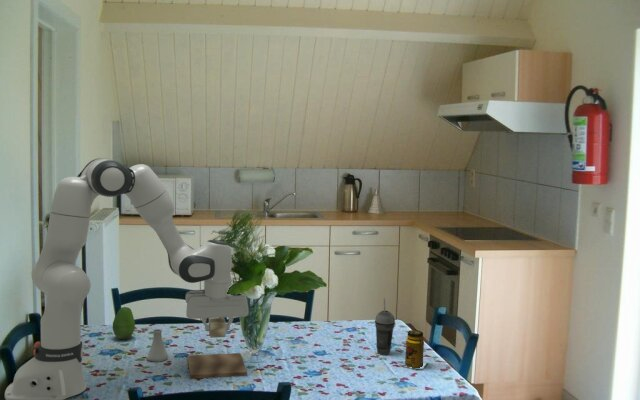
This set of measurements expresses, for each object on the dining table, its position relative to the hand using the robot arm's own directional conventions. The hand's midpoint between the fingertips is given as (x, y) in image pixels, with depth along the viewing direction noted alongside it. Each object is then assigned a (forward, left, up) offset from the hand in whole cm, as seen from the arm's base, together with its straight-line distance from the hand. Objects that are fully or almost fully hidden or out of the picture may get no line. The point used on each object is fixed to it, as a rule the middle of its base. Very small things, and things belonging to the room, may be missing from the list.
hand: (217, 330), depth 227 cm
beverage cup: (+60, +5, -13) cm, 61 cm away
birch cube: (0, 0, -2) cm, 2 cm away
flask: (-19, +11, -13) cm, 25 cm away
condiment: (+67, -8, -13) cm, 69 cm away
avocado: (-31, +34, -13) cm, 48 cm away
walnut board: (0, 0, -13) cm, 13 cm away
